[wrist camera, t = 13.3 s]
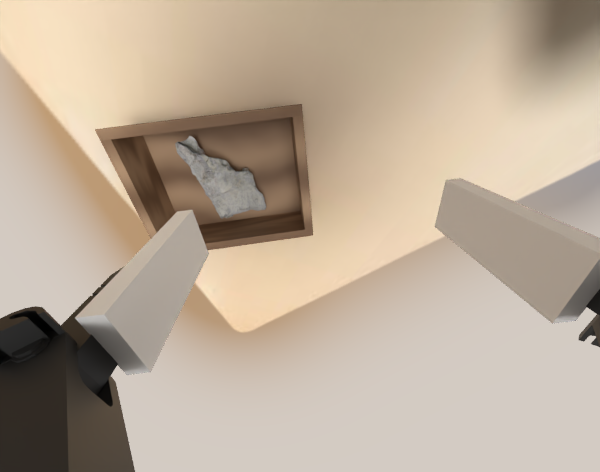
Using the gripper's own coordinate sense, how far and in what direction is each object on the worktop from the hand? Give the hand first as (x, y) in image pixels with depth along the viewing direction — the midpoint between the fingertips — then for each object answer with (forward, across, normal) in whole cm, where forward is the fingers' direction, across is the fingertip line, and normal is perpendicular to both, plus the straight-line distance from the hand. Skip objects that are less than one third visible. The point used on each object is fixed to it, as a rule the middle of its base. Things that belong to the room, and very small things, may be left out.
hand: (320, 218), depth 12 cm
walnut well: (+21, -10, -2) cm, 24 cm away
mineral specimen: (+21, -10, -3) cm, 23 cm away
